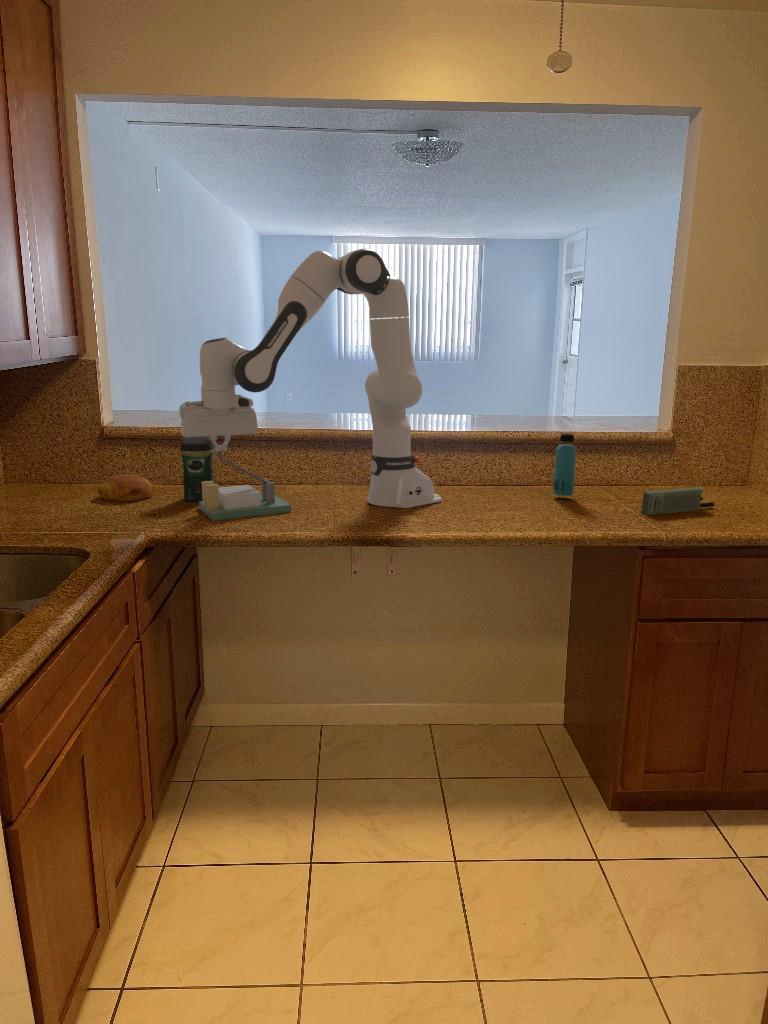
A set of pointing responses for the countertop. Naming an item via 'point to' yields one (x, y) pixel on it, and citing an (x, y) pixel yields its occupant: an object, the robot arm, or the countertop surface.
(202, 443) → the coffee jar
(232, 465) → the retention strap
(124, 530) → the countertop surface
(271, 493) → the board
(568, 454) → the beverage bottle
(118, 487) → the croissant
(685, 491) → the handheld radio
